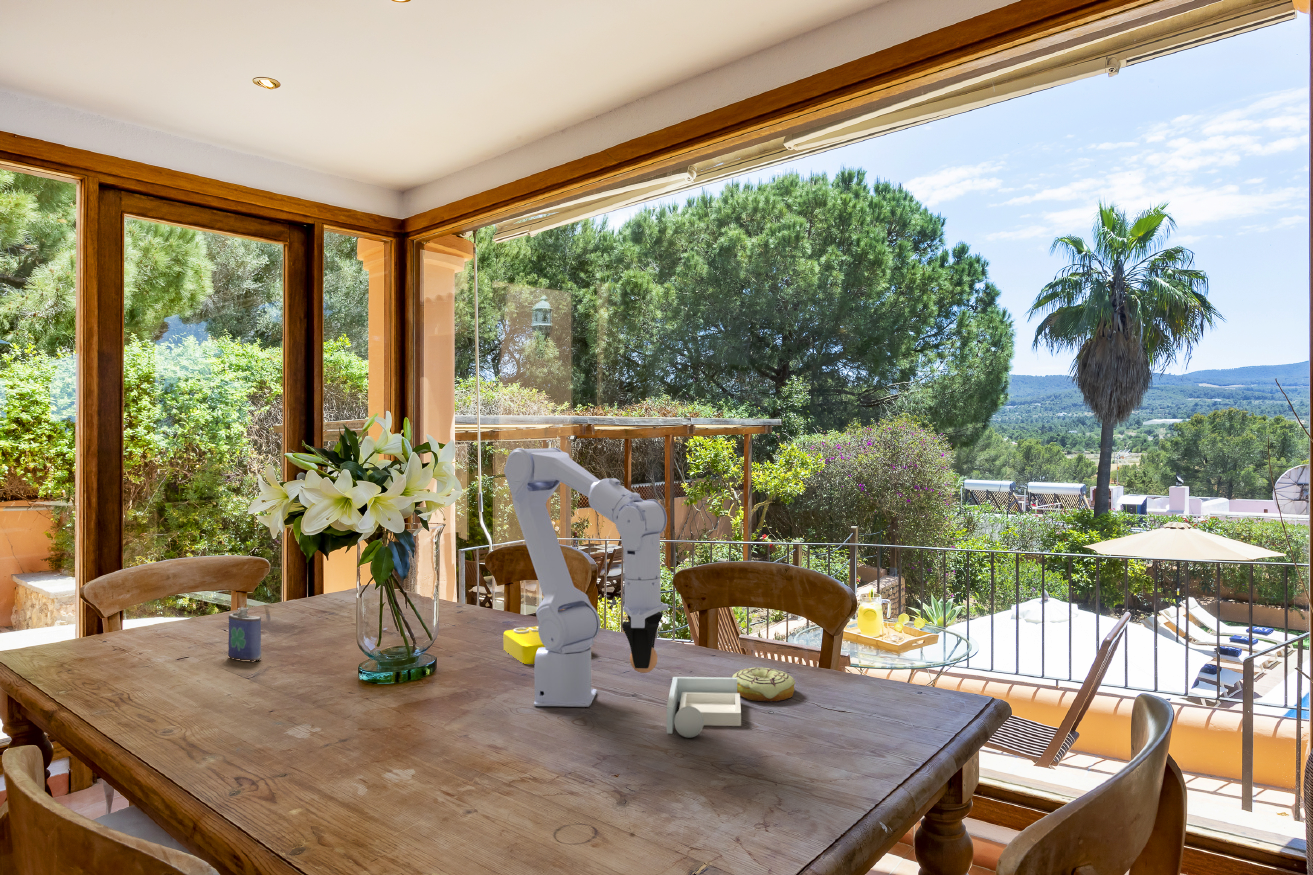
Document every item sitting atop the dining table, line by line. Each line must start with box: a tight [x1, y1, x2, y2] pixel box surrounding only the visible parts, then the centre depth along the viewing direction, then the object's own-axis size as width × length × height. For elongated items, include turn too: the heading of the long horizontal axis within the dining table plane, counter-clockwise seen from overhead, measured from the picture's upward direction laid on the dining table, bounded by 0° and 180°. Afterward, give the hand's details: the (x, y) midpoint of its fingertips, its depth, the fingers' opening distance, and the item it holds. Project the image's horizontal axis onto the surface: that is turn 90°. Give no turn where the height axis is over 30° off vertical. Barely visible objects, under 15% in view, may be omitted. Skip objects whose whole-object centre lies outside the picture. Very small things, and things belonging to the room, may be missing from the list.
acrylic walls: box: [666, 676, 737, 735], centre depth 124 cm, size 11×15×4 cm
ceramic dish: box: [678, 692, 742, 727], centre depth 125 cm, size 10×10×2 cm
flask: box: [227, 607, 262, 661], centre depth 161 cm, size 9×3×11 cm, turn 61°
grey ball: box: [674, 706, 705, 739], centre depth 116 cm, size 4×4×4 cm
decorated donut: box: [731, 666, 796, 702], centre depth 135 cm, size 10×11×4 cm
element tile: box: [502, 625, 545, 665], centre depth 164 cm, size 15×15×5 cm
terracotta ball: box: [629, 647, 658, 674], centre depth 123 cm, size 4×4×4 cm
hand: (643, 663), depth 123 cm, fingers closed on terracotta ball, 4 cm apart
